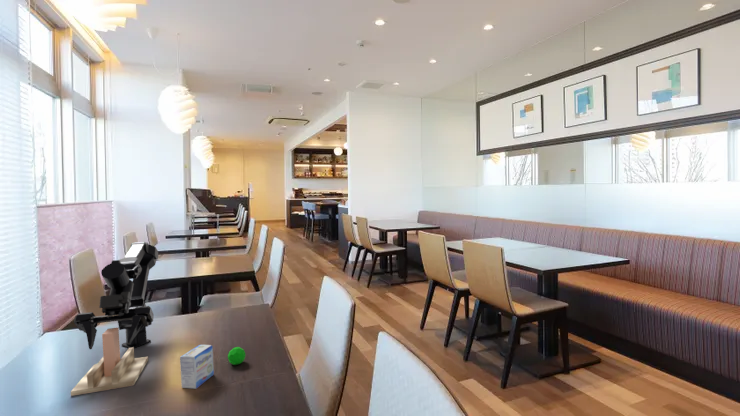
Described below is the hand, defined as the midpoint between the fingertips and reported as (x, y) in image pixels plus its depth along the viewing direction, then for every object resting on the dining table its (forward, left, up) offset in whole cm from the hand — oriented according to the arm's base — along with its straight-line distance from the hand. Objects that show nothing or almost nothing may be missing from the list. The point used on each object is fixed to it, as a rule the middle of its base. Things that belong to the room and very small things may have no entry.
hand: (109, 346), depth 103 cm
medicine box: (+24, +9, -10) cm, 27 cm away
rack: (-1, +1, -9) cm, 9 cm away
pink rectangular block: (-1, +1, -8) cm, 8 cm away
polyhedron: (+26, +21, -9) cm, 35 cm away
